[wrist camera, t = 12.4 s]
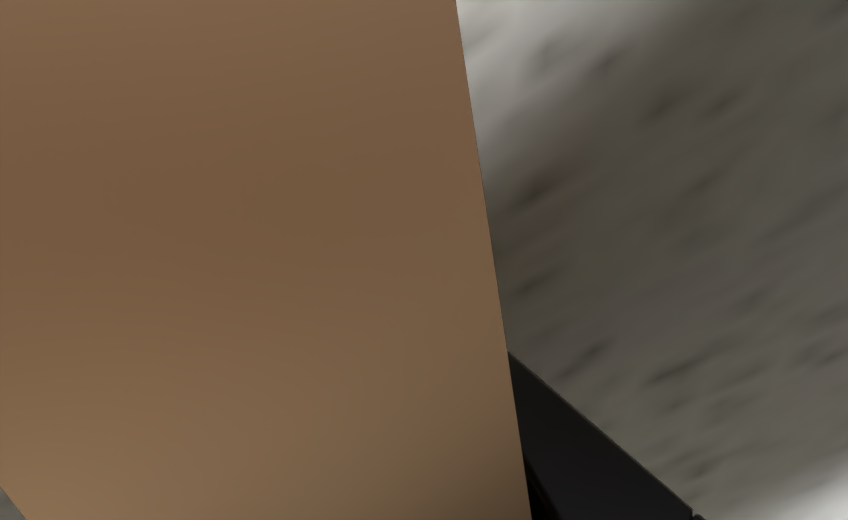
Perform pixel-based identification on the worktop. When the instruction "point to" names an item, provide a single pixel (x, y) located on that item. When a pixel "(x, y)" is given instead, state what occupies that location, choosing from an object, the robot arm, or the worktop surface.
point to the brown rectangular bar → (247, 266)
